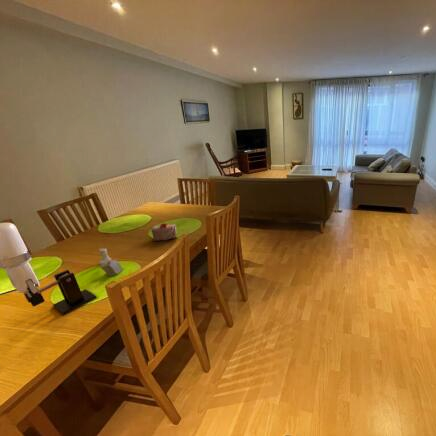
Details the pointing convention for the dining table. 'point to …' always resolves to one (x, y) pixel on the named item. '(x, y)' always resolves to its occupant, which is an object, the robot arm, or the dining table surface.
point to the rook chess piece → (104, 254)
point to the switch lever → (48, 286)
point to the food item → (164, 232)
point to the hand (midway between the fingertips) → (36, 301)
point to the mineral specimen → (110, 267)
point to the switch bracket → (71, 293)
